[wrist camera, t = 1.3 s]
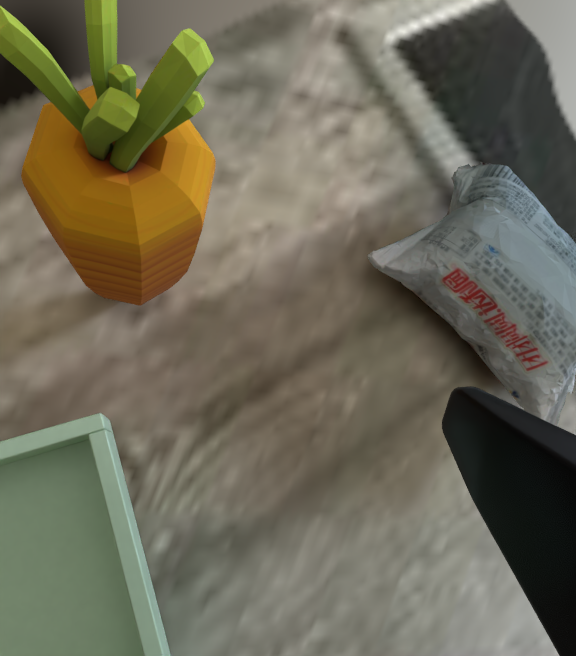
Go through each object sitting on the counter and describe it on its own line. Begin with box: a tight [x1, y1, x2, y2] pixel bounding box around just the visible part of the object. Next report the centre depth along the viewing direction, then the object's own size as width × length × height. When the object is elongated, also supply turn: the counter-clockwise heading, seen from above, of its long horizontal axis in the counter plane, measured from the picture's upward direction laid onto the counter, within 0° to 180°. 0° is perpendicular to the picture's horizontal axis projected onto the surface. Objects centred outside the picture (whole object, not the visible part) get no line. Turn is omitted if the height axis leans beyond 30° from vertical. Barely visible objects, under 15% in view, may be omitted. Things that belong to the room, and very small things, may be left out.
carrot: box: [0, 0, 215, 305], centre depth 16 cm, size 5×5×15 cm
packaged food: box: [368, 162, 576, 426], centre depth 25 cm, size 9×12×5 cm
